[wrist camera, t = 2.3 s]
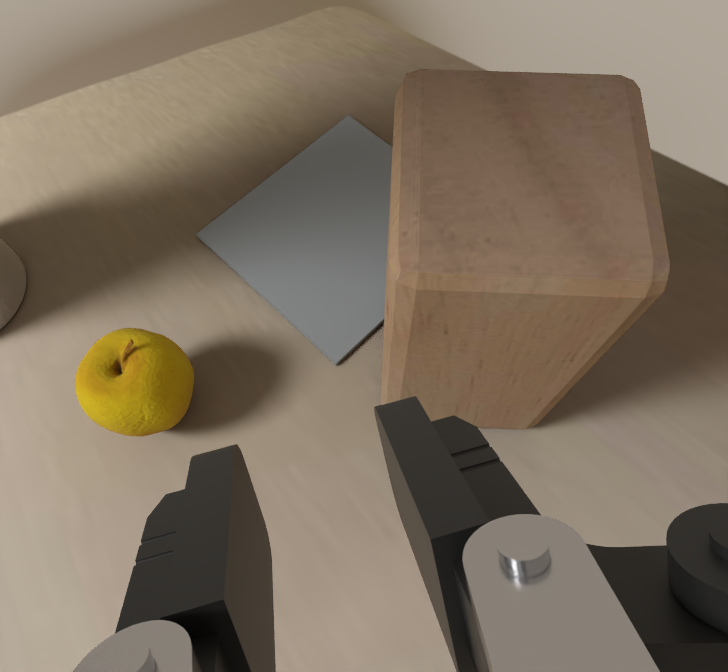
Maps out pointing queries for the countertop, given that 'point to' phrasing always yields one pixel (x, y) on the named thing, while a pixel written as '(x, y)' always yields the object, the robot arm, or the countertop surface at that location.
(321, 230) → the mat
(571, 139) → the block
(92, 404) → the apple
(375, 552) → the countertop surface
